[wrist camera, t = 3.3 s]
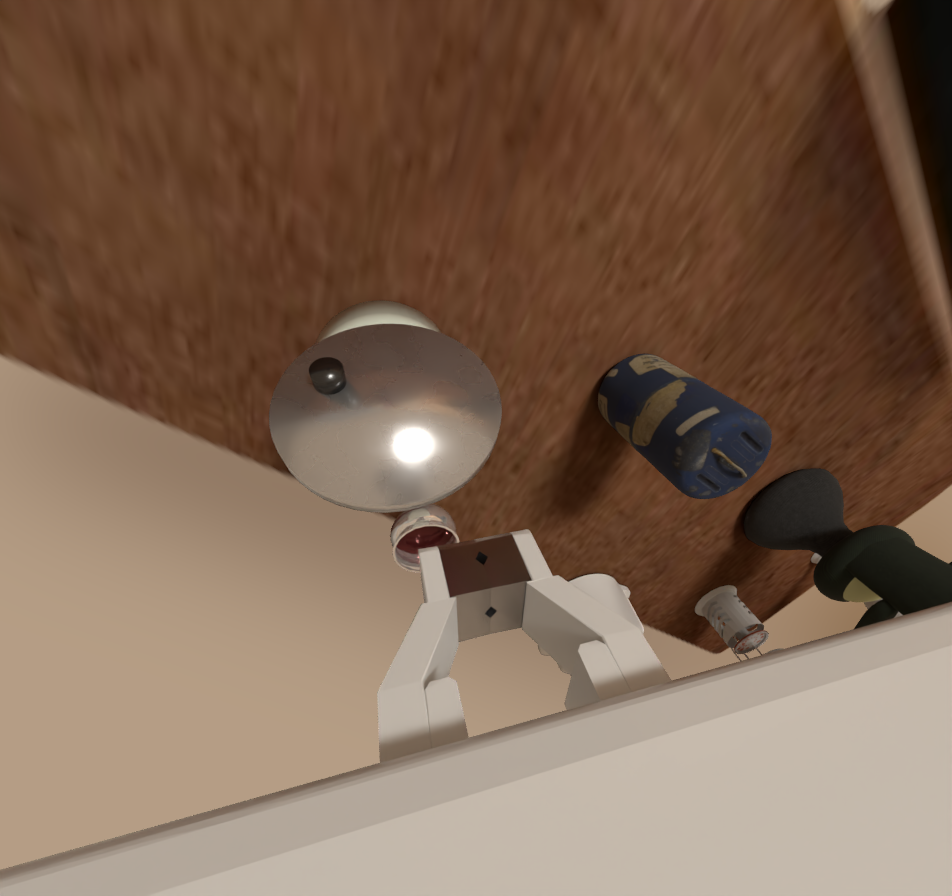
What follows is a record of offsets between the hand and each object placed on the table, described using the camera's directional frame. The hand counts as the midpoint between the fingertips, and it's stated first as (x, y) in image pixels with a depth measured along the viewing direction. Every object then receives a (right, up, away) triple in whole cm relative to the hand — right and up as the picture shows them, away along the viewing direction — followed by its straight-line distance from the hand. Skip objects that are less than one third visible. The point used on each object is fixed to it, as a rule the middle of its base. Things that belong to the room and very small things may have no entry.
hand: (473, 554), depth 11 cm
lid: (-5, +5, +15) cm, 17 cm away
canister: (+19, +11, +39) cm, 45 cm away
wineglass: (-8, -1, +39) cm, 40 cm away
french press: (+51, -30, +76) cm, 96 cm away
